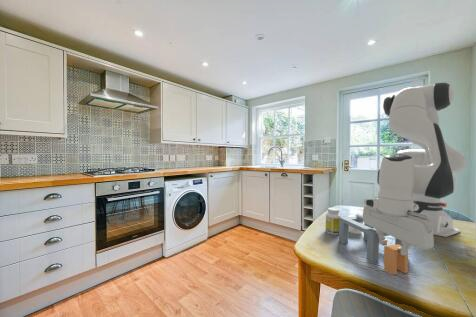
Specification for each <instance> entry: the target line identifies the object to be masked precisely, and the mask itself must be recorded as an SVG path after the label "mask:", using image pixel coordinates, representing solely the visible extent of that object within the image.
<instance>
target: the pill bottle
mask: <svg viewBox="0 0 476 317" xmlns="http://www.w3.org/2000/svg"><path fill="white" fill-rule="evenodd" d="M339 213H340V209H339V208H337V207H328V208H327V213H326V214H325V232H326V233H327V234H329V235H331V236H332V235H333V236H339V218H340V217H342V216H341V214H339Z"/></svg>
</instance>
